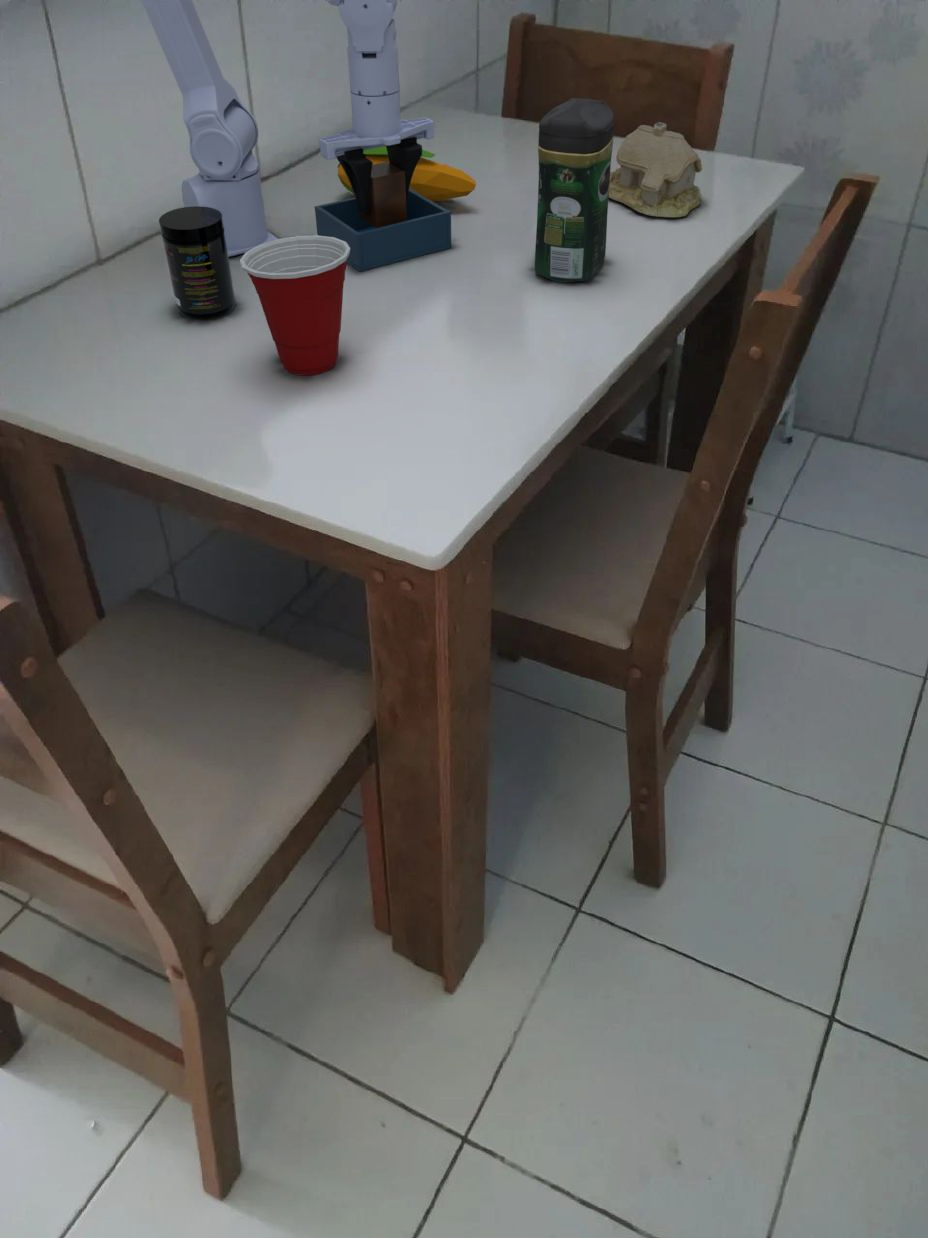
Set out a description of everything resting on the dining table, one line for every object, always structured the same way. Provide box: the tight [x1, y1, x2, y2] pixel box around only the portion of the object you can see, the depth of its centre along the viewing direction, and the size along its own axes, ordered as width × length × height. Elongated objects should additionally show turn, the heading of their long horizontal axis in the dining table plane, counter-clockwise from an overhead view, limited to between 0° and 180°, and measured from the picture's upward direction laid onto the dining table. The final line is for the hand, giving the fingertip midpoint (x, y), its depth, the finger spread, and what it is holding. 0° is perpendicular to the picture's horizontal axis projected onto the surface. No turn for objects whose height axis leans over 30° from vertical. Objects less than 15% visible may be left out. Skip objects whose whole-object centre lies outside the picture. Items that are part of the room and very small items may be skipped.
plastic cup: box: [239, 234, 350, 376], centre depth 107 cm, size 11×11×12 cm
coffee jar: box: [534, 97, 616, 283], centre depth 123 cm, size 10×8×19 cm
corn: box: [337, 146, 477, 202], centre depth 143 cm, size 7×8×20 cm
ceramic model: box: [608, 121, 703, 218], centre depth 142 cm, size 14×11×10 cm
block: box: [359, 162, 407, 228], centre depth 131 cm, size 4×4×6 cm
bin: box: [314, 188, 452, 272], centre depth 133 cm, size 13×11×4 cm
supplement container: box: [158, 206, 236, 321], centre depth 118 cm, size 7×7×10 cm
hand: (382, 207), depth 132 cm, fingers closed on block, 4 cm apart
